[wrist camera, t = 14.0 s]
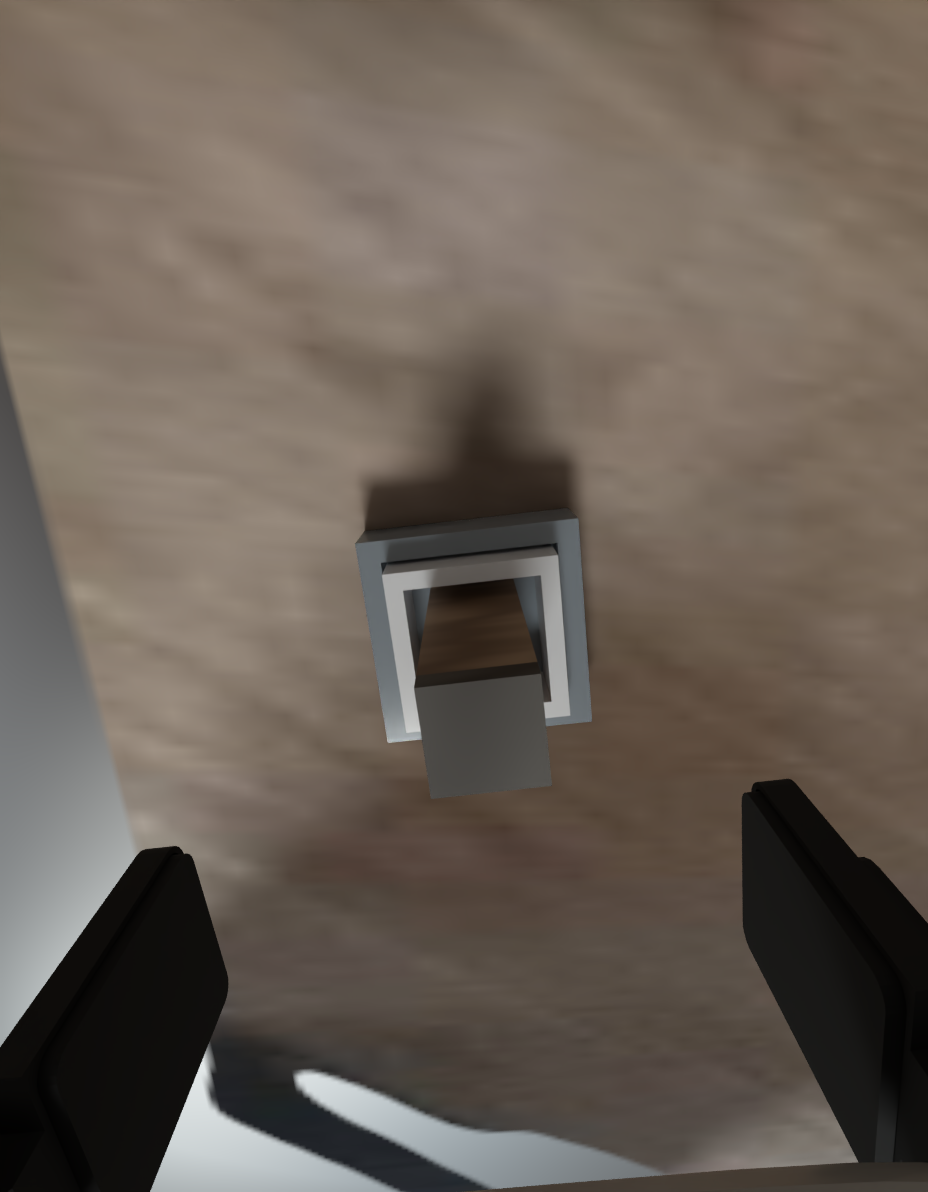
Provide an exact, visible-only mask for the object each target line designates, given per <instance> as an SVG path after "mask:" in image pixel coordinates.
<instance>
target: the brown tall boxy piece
mask: <svg viewBox="0 0 928 1192" xmlns="http://www.w3.org/2000/svg"><path fill="white" fill-rule="evenodd" d="M414 692H415V699H416V705H417V711H418V718H419V724H420V731H421V737H422V743H423V750H424V756H425V763H426V769H427V776H428V782H429V788H430V795H431V799H435V798H444V797H453V796H462V795H471V794H480V793H490V792H499V791H508V790H517V789H526V788H535V787H545V786H552V782H551V772H550V762H549V751H548V741H547V730H546V720H545V710H544V699H543V689H542V679H541V672H540V669H539V665H538V662H537V658H536V655H535V651H534V648H533V645H532V641H531V638H530V634H529V631H528V628H527V624H526V621H525V617H524V614H523V610H522V607H521V604H520V600H519V597H518V593H517V590H516V587H515V583H514V580H513V578H511V579H502V580H493V581H484V582H475V583H466V584H457V585H449V586H440V587H431V588H430V594H429V600H428V606H427V612H426V618H425V624H424V630H423V637H422V643H421V649H420V655H419V661H418V667H417V673H416V679H415V685H414Z"/></svg>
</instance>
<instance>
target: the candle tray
mask: <svg viewBox="0 0 928 1192" xmlns="http://www.w3.org/2000/svg"><path fill="white" fill-rule="evenodd" d="M355 546H356V552H357V558H358V564H359V570H360V576H361V582H362V588H363V594H364V600H365V606H366V613H367V619H368V625H369V631H370V637H371V643H372V649H373V655H374V661H375V667H376V673H377V679H378V686H379V692H380V698H381V704H382V710H383V716H384V722H385V728H386V734H387V740H388V743H391V742H401V741H410V740H420V739H422V737H421V731H420V724H419V718H418V711H417V705H416V699H415V692H414V685H415V679H416V673H417V667H418V661H419V655H420V649H421V643H422V637H423V630H424V624H425V618H426V612H427V606H428V600H429V594H430V588H431V587H440V586H449V585H457V584H466V583H475V582H484V581H493V580H502V579H511V578H513V580H514V583H515V587H516V590H517V593H518V597H519V600H520V604H521V607H522V610H523V614H524V617H525V621H526V624H527V628H528V631H529V634H530V638H531V641H532V645H533V648H534V651H535V655H536V658H537V662H538V665H539V669H540V672H541V679H542V689H543V699H544V710H545V720H546V726H552V725H562V724H571V723H581V722H590V721H592V716H591V701H590V686H589V671H588V656H587V641H586V626H585V611H584V596H583V582H582V567H581V552H580V537H579V522H578V517H577V516H576V515H575V514H574V513H573V512H572V511H570V510H569V509H568V508H562V509H553V510H545V511H536V512H527V513H519V514H510V515H501V516H492V517H484V518H475V519H466V520H458V521H449V522H440V523H431V524H423V525H414V526H405V527H397V528H388V529H379V530H370V531H364V533H363V534H362V535H361V537H360V538H359V539H358V541H357V542H356V543H355Z"/></svg>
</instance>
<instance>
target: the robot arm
mask: <svg viewBox="0 0 928 1192" xmlns="http://www.w3.org/2000/svg"><path fill="white" fill-rule="evenodd" d="M742 887H743V928H744V933H745V937H746V940H747V943H748V946H749V948H750V950H751V952H752V954H753V956H754V958H755V960H756V962H757V964H758V966H759V968H760V970H761V972H762V974H763V976H764V978H765V980H766V982H767V984H768V986H769V988H770V989H771V991H772V993H773V995H774V997H775V999H776V1001H777V1003H778V1005H779V1007H780V1009H781V1011H782V1013H783V1015H784V1017H785V1019H786V1021H787V1023H788V1025H789V1027H790V1029H791V1031H792V1033H793V1035H794V1036H795V1038H796V1040H797V1042H798V1044H799V1046H800V1048H801V1050H802V1052H803V1054H804V1056H805V1058H806V1060H807V1062H808V1064H809V1066H810V1068H811V1070H812V1072H813V1074H814V1076H815V1078H816V1080H817V1082H818V1083H819V1085H820V1087H821V1089H822V1091H823V1093H824V1095H825V1097H826V1099H827V1101H828V1103H829V1105H830V1107H831V1109H832V1111H833V1113H834V1115H835V1117H836V1119H837V1121H838V1123H839V1125H840V1127H841V1129H842V1131H843V1132H844V1134H845V1136H846V1138H847V1140H848V1142H849V1144H850V1146H851V1148H852V1150H853V1152H854V1154H855V1156H856V1158H857V1160H858V1162H859V1163H840V1164H823V1165H806V1166H790V1167H773V1168H756V1169H739V1170H725V1171H713V1172H700V1173H687V1174H675V1175H662V1176H650V1177H638V1178H625V1179H612V1180H601V1181H587V1182H575V1183H563V1184H550V1185H539V1186H526V1187H514V1188H503V1189H491V1190H479V1191H467V1192H928V923H927V922H926V921H925V920H924V919H923V917H922V916H921V915H920V914H919V913H918V912H917V910H916V909H915V908H914V907H913V906H912V905H911V904H910V902H909V901H908V900H907V899H906V898H905V897H904V896H903V894H902V893H901V892H900V891H899V890H898V889H897V887H896V886H895V885H894V884H893V883H892V882H891V881H890V879H889V878H888V877H887V876H886V875H885V874H884V873H883V871H882V870H881V869H880V868H879V867H878V866H877V865H876V864H875V863H874V862H873V861H872V860H870V859H868V858H865V857H857V856H856V854H855V853H854V852H853V851H852V850H851V848H850V847H849V846H848V845H847V844H846V843H845V841H844V840H843V839H842V838H841V837H840V835H839V834H838V833H837V832H836V831H835V829H834V828H833V827H832V826H831V825H830V824H829V822H828V821H827V820H826V819H825V818H824V816H823V815H822V814H821V813H820V812H819V811H818V809H817V808H816V807H815V806H814V805H813V803H812V802H811V801H810V800H809V799H808V798H807V796H806V795H805V794H804V793H803V792H802V790H801V789H800V788H799V787H798V786H797V784H796V783H795V782H794V781H792V780H791V779H782V780H773V781H764V782H755V783H754V784H753V786H752V792H747V793H744V794H743V796H742ZM227 993H228V975H227V971H226V968H225V965H224V961H223V958H222V955H221V951H220V948H219V944H218V941H217V938H216V934H215V931H214V928H213V924H212V921H211V918H210V914H209V911H208V907H207V904H206V901H205V897H204V894H203V891H202V887H201V884H200V880H199V877H198V874H197V870H196V867H195V864H194V861H193V858H192V856H191V855H190V854H183V851H182V850H181V849H180V848H179V847H177V846H171V847H162V848H153V849H145V850H142V851H141V852H140V853H139V854H138V855H137V856H136V857H135V859H134V860H133V862H132V863H131V864H130V866H129V867H128V869H127V870H126V871H125V873H124V874H123V876H122V877H121V878H120V880H119V881H118V883H117V884H116V886H115V887H114V888H113V890H112V891H111V892H110V894H109V895H108V897H107V898H106V899H105V901H104V902H103V904H102V905H101V906H100V908H99V909H98V911H97V912H96V913H95V915H94V916H93V918H92V919H91V920H90V922H89V923H88V925H87V926H86V928H85V929H84V930H83V932H82V933H81V935H80V936H79V937H78V939H77V941H76V942H75V943H74V945H73V946H72V947H71V949H70V950H69V951H68V953H67V954H66V956H65V957H64V958H63V960H62V961H61V963H60V964H59V965H58V967H57V968H56V970H55V971H54V972H53V974H52V975H51V977H50V978H49V979H48V981H47V982H46V984H45V985H44V986H43V988H42V989H41V991H40V992H39V993H38V995H37V996H36V998H35V999H34V1001H33V1002H32V1003H31V1005H30V1006H29V1008H28V1009H27V1010H26V1012H25V1013H24V1015H23V1016H22V1017H21V1019H20V1020H19V1022H18V1023H17V1024H16V1026H15V1027H14V1029H13V1030H12V1031H11V1033H10V1034H9V1036H8V1037H7V1038H6V1040H5V1041H4V1043H3V1044H2V1045H1V1047H0V1192H150V1190H151V1188H152V1185H153V1183H154V1180H155V1178H156V1175H157V1173H158V1170H159V1167H160V1165H161V1162H162V1160H163V1157H164V1155H165V1152H166V1150H167V1147H168V1145H169V1142H170V1140H171V1137H172V1135H173V1132H174V1130H175V1127H176V1124H177V1122H178V1120H179V1117H180V1114H181V1112H182V1110H183V1107H184V1104H185V1102H186V1099H187V1097H188V1094H189V1092H190V1089H191V1087H192V1084H193V1082H194V1079H195V1076H196V1074H197V1072H198V1069H199V1067H200V1064H201V1062H202V1059H203V1056H204V1054H205V1051H206V1049H207V1046H208V1044H209V1041H210V1039H211V1036H212V1034H213V1031H214V1029H215V1026H216V1024H217V1021H218V1019H219V1016H220V1014H221V1011H222V1009H223V1006H224V1003H225V1001H226V997H227Z"/></svg>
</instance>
